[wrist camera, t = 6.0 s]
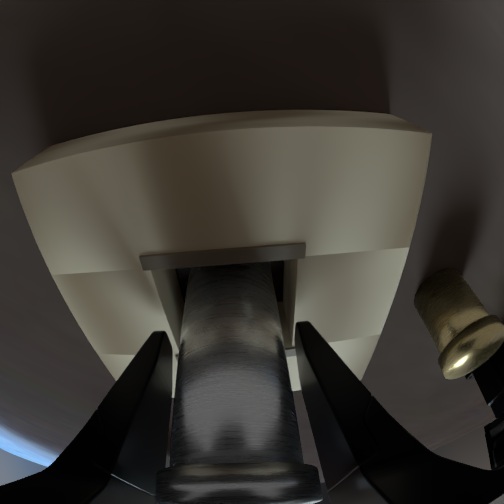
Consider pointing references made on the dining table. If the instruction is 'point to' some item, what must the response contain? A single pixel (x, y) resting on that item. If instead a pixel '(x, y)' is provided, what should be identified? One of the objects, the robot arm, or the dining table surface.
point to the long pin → (234, 398)
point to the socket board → (230, 221)
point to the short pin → (457, 323)
